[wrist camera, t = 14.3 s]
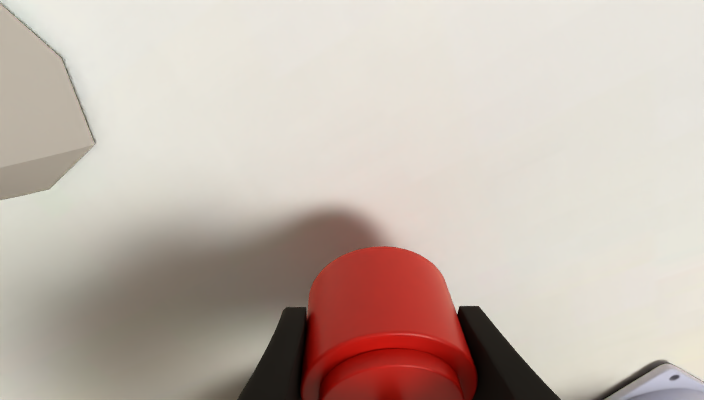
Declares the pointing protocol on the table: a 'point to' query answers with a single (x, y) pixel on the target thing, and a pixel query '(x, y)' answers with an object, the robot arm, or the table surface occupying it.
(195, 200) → the table surface
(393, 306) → the red pepper
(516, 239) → the table surface
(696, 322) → the table surface
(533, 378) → the robot arm
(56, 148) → the flask
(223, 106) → the table surface
